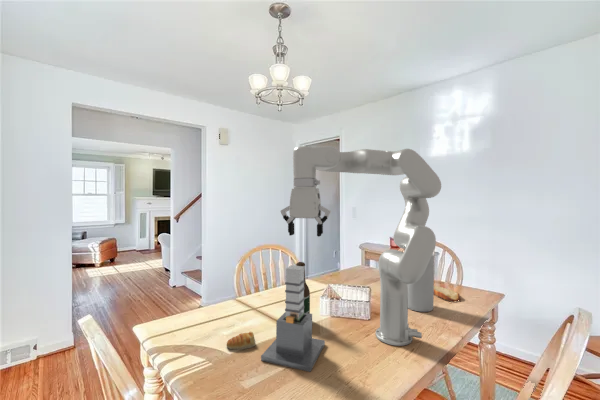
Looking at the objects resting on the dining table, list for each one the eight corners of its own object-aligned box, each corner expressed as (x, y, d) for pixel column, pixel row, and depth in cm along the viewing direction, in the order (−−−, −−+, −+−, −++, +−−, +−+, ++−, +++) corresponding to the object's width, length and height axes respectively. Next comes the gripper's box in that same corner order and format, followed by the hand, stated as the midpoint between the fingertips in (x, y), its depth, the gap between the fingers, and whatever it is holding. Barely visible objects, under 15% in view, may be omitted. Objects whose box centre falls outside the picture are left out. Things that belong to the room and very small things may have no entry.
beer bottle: (308, 326, 110) (308, 265, 110) (288, 324, 112) (289, 264, 112) (311, 318, 118) (311, 261, 118) (293, 316, 120) (293, 260, 119)
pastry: (228, 353, 91) (228, 342, 91) (224, 344, 98) (224, 333, 98) (256, 347, 96) (256, 336, 95) (251, 338, 102) (251, 327, 102)
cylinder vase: (427, 302, 137) (428, 251, 136) (437, 313, 124) (438, 256, 124) (401, 301, 138) (401, 250, 138) (408, 311, 126) (409, 255, 125)
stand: (324, 344, 97) (325, 306, 97) (310, 371, 82) (310, 327, 82) (281, 336, 102) (282, 300, 102) (261, 360, 87) (261, 318, 87)
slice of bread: (427, 287, 161) (427, 280, 161) (463, 294, 150) (463, 287, 150) (419, 296, 147) (419, 289, 147) (458, 304, 136) (458, 296, 136)
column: (304, 320, 94) (304, 266, 93) (299, 327, 89) (299, 270, 89) (290, 318, 95) (291, 265, 95) (284, 324, 91) (285, 268, 90)
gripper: (332, 184, 95) (333, 234, 96) (284, 185, 101) (285, 233, 101) (327, 183, 88) (328, 238, 88) (276, 184, 94) (277, 236, 94)
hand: (305, 235), depth 95 cm, fingers open, 9 cm apart
